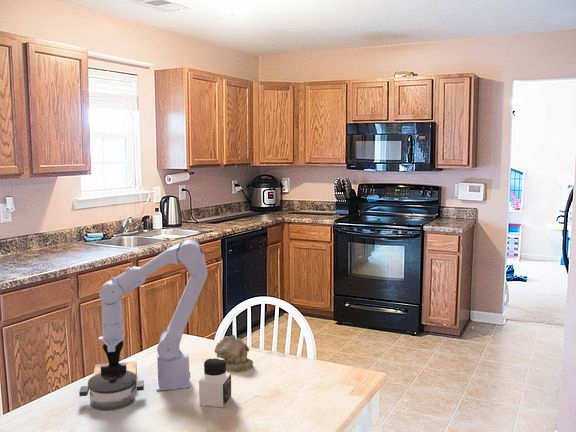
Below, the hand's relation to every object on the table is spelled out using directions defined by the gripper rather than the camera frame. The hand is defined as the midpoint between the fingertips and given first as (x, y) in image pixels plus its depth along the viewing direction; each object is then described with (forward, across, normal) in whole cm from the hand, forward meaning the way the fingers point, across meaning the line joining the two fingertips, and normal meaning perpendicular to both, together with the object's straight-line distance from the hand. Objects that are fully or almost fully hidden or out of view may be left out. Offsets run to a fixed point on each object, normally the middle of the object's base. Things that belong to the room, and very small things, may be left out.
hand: (114, 366), depth 162 cm
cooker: (+6, +3, 0) cm, 7 cm away
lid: (+2, +8, 0) cm, 8 cm away
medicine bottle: (+7, +15, +28) cm, 33 cm away
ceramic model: (+7, -10, +36) cm, 38 cm away
